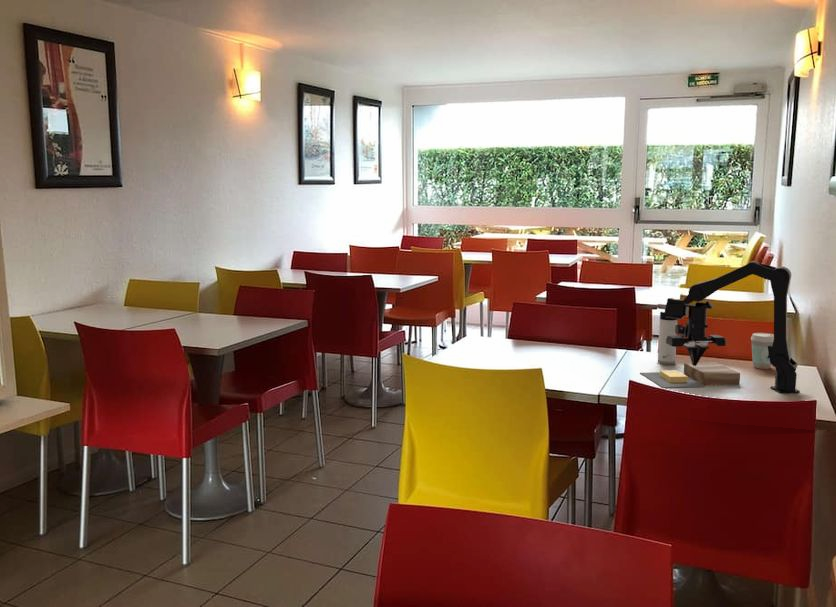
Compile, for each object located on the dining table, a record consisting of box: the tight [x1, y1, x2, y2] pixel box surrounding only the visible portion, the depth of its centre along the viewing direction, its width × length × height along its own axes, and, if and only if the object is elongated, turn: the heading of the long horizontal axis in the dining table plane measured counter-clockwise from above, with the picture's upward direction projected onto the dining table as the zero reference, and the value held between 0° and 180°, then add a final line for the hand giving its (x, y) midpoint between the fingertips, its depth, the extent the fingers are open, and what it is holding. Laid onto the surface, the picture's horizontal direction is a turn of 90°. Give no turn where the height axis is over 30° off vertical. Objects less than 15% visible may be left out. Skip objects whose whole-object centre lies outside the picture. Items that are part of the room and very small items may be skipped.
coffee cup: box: [750, 332, 774, 370], centre depth 271 cm, size 8×9×12 cm
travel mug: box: [657, 311, 678, 366], centre depth 277 cm, size 6×7×20 cm
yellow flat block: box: [659, 369, 688, 382], centre depth 253 cm, size 9×6×2 cm, turn 4°
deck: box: [683, 361, 741, 387], centre depth 254 cm, size 16×12×4 cm
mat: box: [639, 371, 705, 389], centre depth 253 cm, size 20×14×1 cm
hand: (694, 365), depth 253 cm, fingers closed
